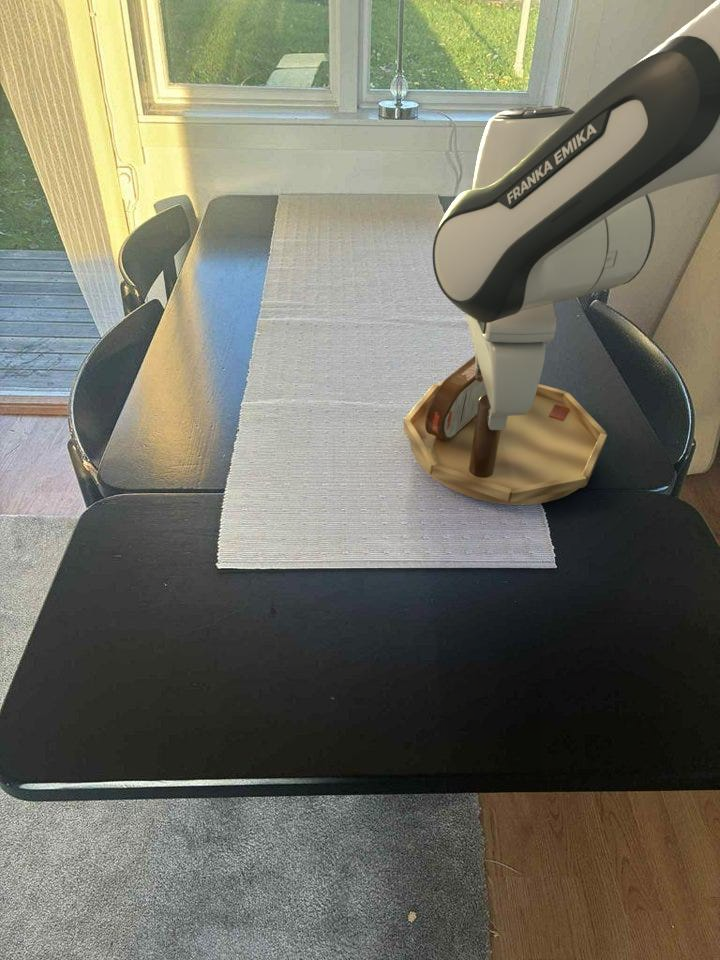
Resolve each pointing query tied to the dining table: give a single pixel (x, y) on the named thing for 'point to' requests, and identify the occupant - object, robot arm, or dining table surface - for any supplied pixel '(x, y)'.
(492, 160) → the robot arm
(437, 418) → the tin
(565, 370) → the dining table surface
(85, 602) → the dining table surface
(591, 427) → the tray
